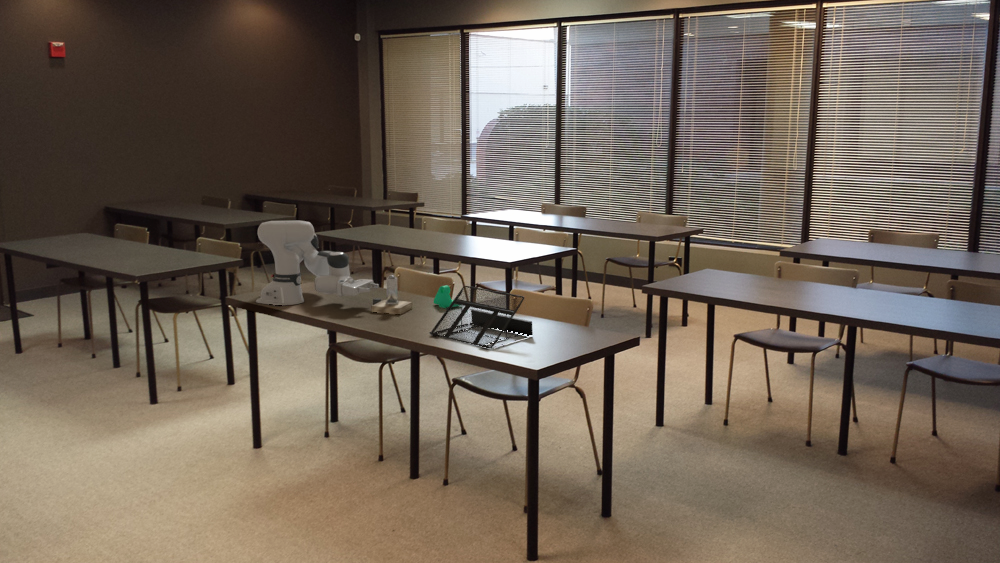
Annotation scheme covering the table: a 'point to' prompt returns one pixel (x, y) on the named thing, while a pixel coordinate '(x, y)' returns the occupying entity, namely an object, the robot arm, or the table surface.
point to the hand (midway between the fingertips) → (373, 288)
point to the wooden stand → (391, 307)
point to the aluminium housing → (392, 291)
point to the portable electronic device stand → (483, 318)
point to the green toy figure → (443, 297)
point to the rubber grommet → (376, 301)
